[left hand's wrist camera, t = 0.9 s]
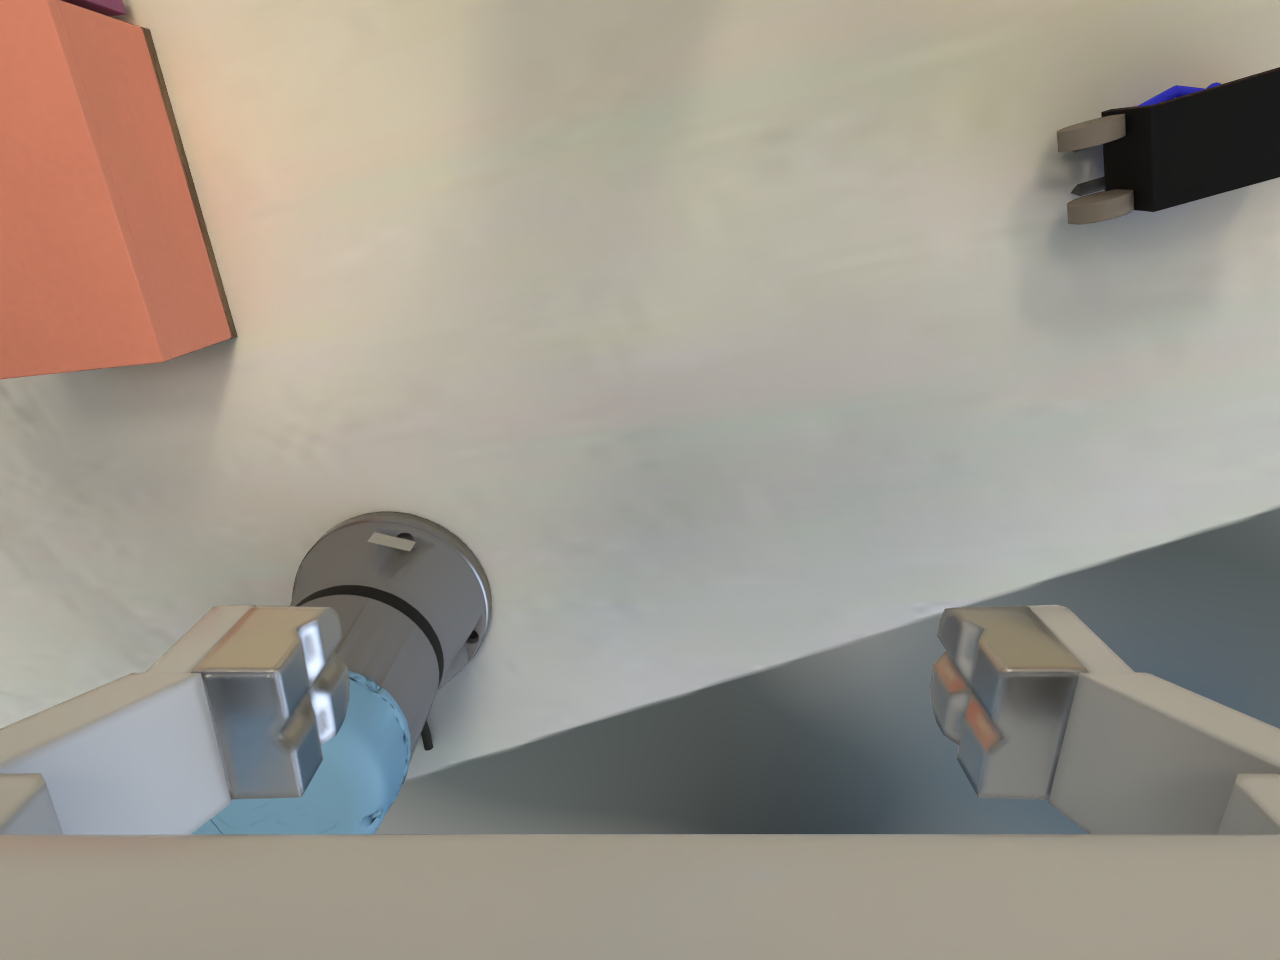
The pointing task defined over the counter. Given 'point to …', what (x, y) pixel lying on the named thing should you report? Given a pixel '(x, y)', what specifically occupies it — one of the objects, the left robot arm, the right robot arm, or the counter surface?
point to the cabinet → (95, 201)
